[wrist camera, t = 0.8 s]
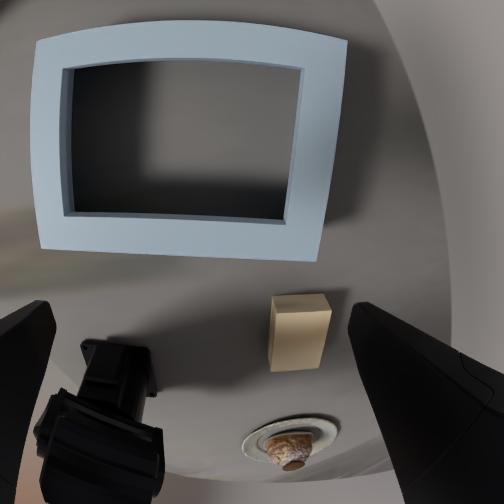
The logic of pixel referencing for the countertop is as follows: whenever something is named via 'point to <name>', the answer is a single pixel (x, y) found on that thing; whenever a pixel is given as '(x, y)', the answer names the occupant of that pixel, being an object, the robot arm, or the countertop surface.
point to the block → (297, 331)
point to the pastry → (290, 443)
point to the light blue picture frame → (175, 225)
